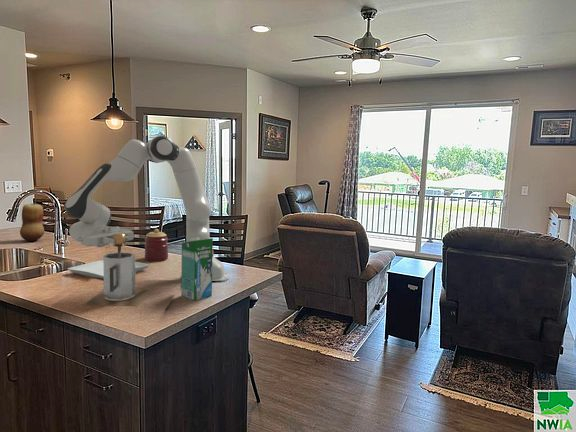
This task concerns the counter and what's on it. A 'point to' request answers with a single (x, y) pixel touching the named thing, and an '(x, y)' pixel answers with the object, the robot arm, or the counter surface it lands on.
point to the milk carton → (197, 268)
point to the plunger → (119, 242)
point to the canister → (156, 246)
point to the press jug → (119, 277)
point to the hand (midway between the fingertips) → (120, 240)
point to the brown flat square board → (100, 301)
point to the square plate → (99, 269)
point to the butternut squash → (32, 222)
